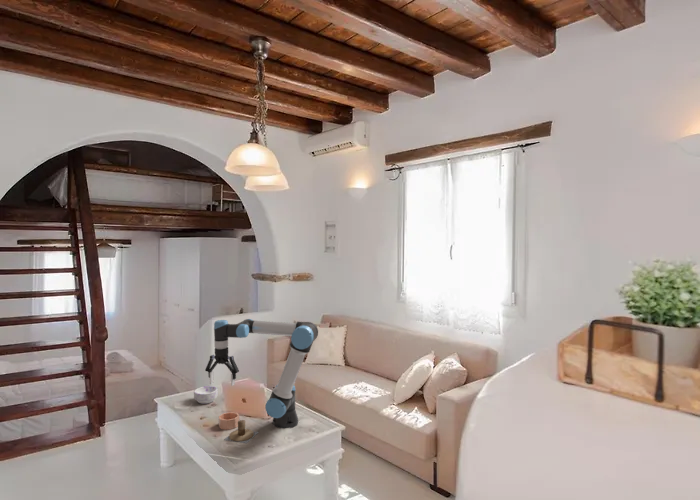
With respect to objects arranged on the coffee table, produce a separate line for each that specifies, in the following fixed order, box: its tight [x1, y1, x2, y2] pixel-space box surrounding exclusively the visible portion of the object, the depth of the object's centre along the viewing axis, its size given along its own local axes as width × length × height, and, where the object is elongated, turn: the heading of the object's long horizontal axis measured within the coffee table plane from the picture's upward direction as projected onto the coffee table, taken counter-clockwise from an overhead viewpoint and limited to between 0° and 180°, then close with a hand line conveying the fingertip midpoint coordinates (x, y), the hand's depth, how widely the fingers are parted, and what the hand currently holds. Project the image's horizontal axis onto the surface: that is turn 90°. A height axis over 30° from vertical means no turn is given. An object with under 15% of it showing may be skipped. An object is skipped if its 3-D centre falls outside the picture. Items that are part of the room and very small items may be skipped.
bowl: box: [218, 411, 240, 431], centre depth 251 cm, size 11×11×6 cm
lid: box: [228, 419, 255, 442], centre depth 238 cm, size 13×13×8 cm
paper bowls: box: [193, 385, 218, 405], centre depth 290 cm, size 15×15×8 cm
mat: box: [223, 428, 260, 444], centre depth 238 cm, size 14×14×1 cm
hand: (222, 384), depth 247 cm, fingers open, 13 cm apart
